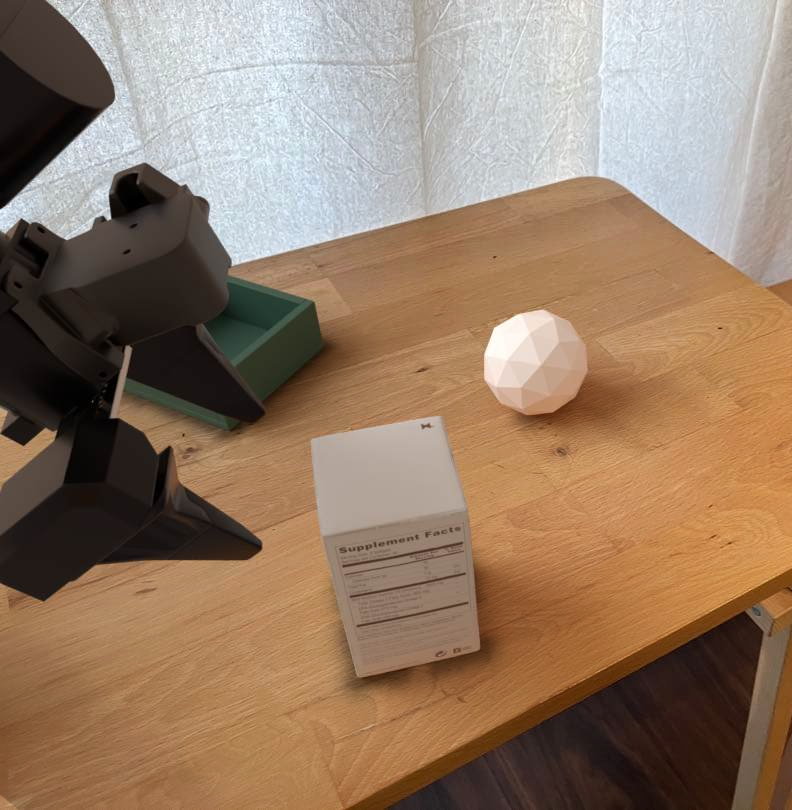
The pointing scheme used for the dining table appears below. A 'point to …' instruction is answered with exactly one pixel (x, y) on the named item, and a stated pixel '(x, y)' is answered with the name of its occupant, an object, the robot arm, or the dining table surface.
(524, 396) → the geometric ball
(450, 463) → the white packaging box
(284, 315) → the bin
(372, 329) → the dining table surface
